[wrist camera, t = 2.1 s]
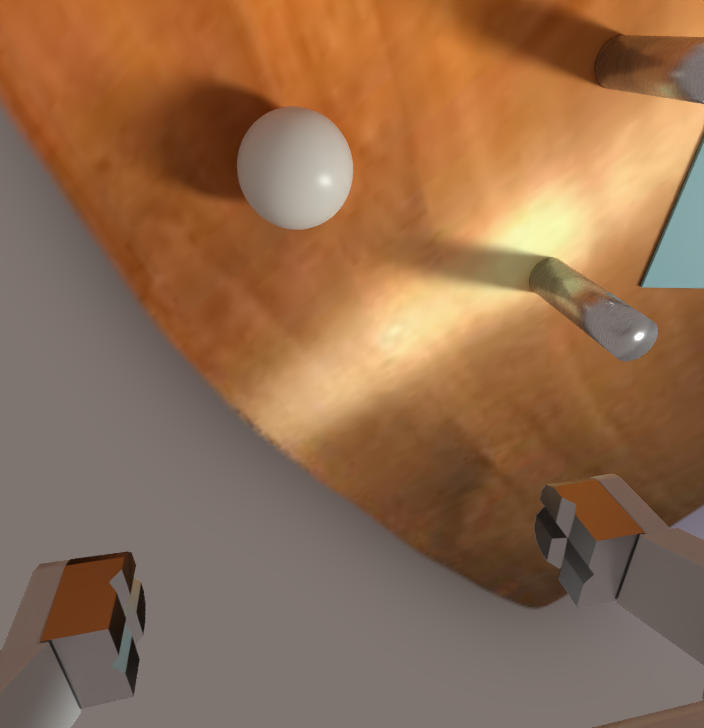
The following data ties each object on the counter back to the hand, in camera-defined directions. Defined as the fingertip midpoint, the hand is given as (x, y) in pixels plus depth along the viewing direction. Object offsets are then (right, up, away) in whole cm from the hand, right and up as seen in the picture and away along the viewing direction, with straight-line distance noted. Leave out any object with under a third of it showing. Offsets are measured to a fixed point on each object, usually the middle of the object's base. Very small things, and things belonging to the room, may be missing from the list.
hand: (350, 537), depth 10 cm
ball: (-3, +13, +15) cm, 20 cm away
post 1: (+13, +9, +26) cm, 30 cm away
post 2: (+15, +20, +19) cm, 31 cm away
